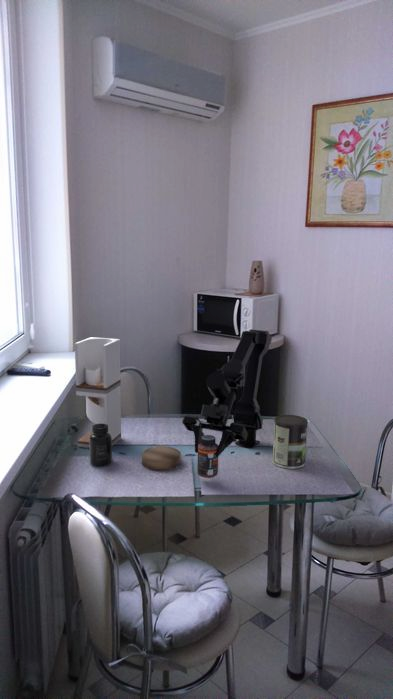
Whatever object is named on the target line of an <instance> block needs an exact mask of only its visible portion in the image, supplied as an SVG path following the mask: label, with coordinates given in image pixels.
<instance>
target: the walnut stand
mask: <svg viewBox="0 0 393 699" xmlns="http://www.w3.org/2000/svg"><path fill="white" fill-rule="evenodd" d="M181 456H182V455H181V451H180V450H179V449H177V448H176V447H172V446H166V445H165V446H164V445H163V446H162V445H161V446H160V445H159V446H156V445H155V446H152V447H149V448H145V449H144V450H143V451H142V452H141V465H142V467H144V468H146V469H148V470H151V471H156V472H157V471H158V472H165V471H171V470H175V469H176V468H179V466H180V465H181V462H182V461H181V459H182V458H181Z"/></svg>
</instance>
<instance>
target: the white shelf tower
mask: <svg viewBox="0 0 393 699" xmlns="http://www.w3.org/2000/svg"><path fill="white" fill-rule="evenodd" d="M74 360H75V363H74V364H75V390H76V391H75V395H76V396H81V397H82V396H83V397H85V405H86V408H85V411H86V416H87V419H89V421H90V422H92V423H93V424H94V425H95V424H107V425H108V433H110V434H111V436H112V447H113V446H114V445H115V444H116V443H118V442H119V441H120V440H121V439H122V402H121V401H122V397H121V396H122V395H121V394H122V392H121V390H122V388H121V386H122V385H121V381H122V380H121V377H122V376H121V339H120V338H110V337H107V338H106V337H96V336H95V337H92V336H91V337H88V338H85V339H82V340H79V341H77V342H75V343H74ZM91 434H92V430H90V431H89V432H88V433H86V434H85V435H84V436H82V437H80V438H79V439H78V440H77V448H78V447H79V448H86V449H90V447H89V437H90V435H91Z"/></svg>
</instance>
